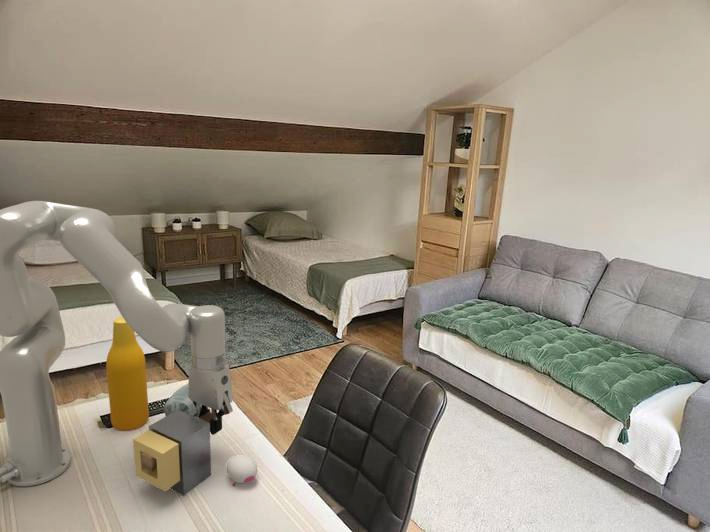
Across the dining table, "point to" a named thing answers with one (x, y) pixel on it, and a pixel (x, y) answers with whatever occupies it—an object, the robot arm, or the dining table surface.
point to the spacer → (165, 456)
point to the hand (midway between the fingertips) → (210, 428)
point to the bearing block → (187, 447)
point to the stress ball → (241, 469)
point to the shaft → (152, 462)
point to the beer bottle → (126, 379)
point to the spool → (180, 402)
